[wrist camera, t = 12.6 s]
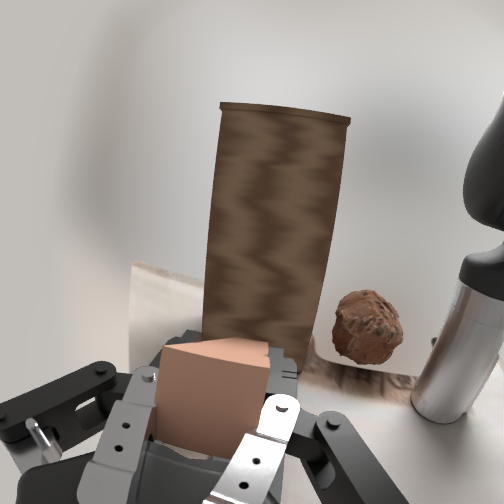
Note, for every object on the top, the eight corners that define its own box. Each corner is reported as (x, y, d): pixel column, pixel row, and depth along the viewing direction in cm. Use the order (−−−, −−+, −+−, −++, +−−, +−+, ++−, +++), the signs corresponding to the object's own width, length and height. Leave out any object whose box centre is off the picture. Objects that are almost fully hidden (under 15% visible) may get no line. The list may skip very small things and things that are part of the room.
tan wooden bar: (262, 372, 28) (267, 342, 29) (250, 463, 7) (269, 368, 8) (230, 367, 28) (236, 336, 29) (150, 437, 7) (162, 345, 8)
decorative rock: (323, 329, 48) (335, 277, 45) (379, 335, 47) (395, 285, 44) (331, 374, 35) (350, 311, 32) (400, 377, 34) (424, 319, 31)
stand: (301, 324, 49) (332, 137, 40) (303, 374, 35) (350, 117, 26) (222, 311, 50) (241, 126, 42) (198, 355, 36) (220, 102, 28)
